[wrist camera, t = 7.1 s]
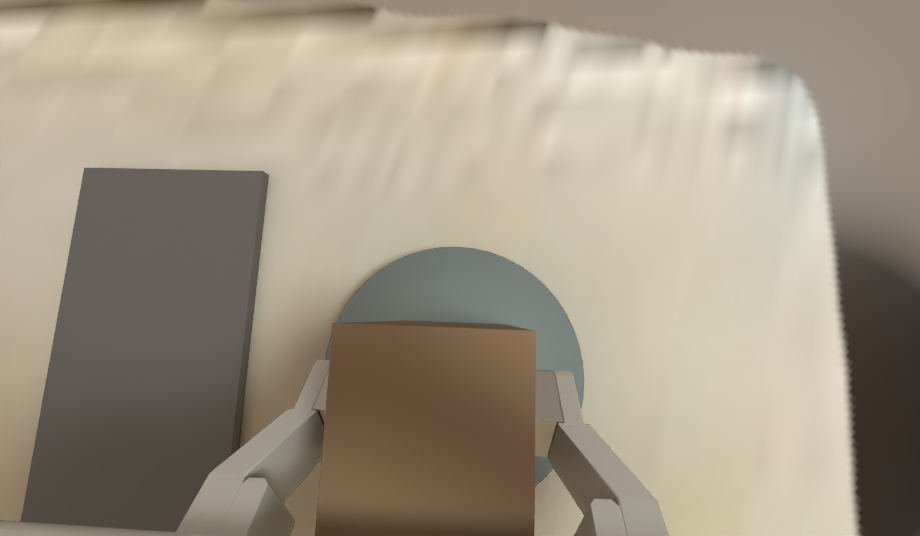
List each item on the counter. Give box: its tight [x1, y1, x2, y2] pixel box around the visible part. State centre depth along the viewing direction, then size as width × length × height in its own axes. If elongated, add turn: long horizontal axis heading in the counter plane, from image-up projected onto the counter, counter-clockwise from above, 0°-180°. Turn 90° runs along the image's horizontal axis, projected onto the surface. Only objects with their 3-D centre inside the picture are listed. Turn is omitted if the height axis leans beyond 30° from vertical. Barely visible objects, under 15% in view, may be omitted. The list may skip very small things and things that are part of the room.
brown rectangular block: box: [315, 320, 536, 536], centre depth 12 cm, size 4×4×8 cm
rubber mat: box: [21, 168, 269, 532], centre depth 17 cm, size 18×9×1 cm, turn 178°
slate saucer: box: [326, 247, 584, 486], centre depth 15 cm, size 11×11×3 cm
